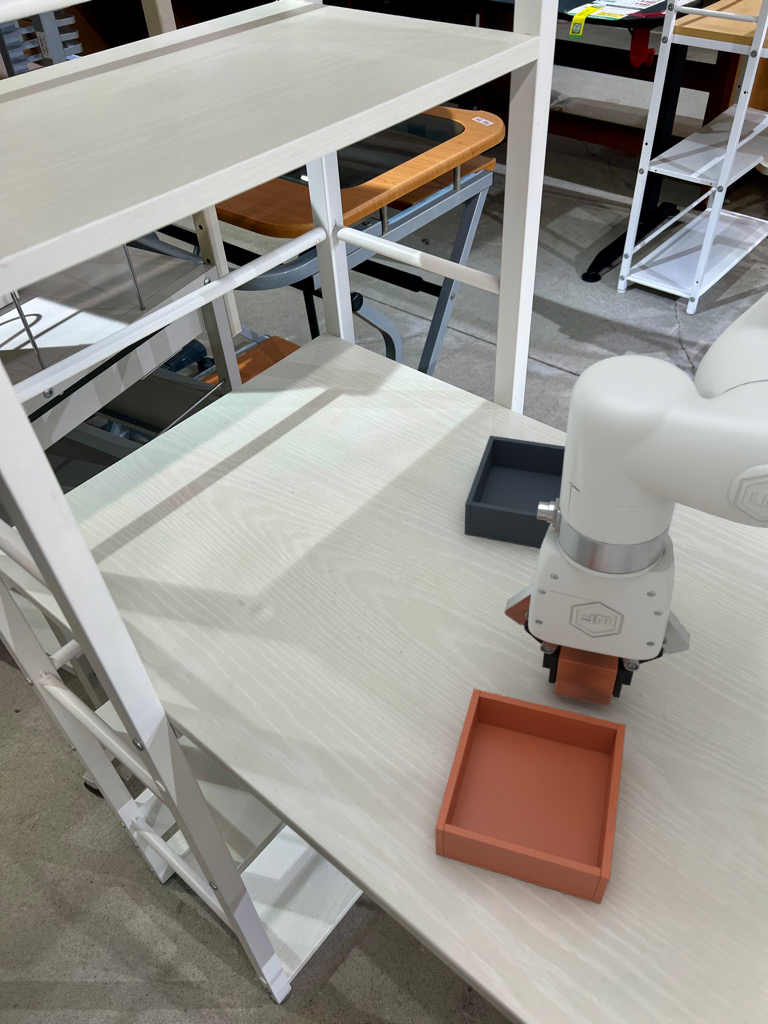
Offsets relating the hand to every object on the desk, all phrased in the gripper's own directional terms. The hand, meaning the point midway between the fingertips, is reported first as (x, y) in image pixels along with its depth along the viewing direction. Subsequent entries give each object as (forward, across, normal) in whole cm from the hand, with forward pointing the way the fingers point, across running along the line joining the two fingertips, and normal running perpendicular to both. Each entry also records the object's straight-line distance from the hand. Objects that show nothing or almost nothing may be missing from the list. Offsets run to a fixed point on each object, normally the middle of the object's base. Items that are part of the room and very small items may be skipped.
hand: (585, 675), depth 65 cm
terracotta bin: (+2, -3, -12) cm, 12 cm away
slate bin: (+2, -9, +22) cm, 24 cm away
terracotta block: (0, 0, 0) cm, 0 cm away
